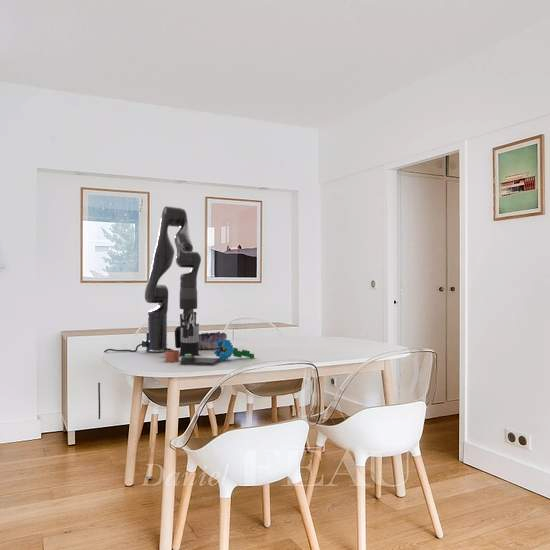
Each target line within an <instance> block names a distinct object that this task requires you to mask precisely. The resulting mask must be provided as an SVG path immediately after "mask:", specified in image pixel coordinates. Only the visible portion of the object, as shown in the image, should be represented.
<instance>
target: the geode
mask: <svg viewBox="0 0 550 550" xmlns="http://www.w3.org/2000/svg"><path fill="white" fill-rule="evenodd" d="M227 336H228V335H227V334H226V332H220V331H217V332H203V333H199V350H212V349H213V350H218V349H219V348H220V346H217V344H216V342H219V341H220V340H221V341H223V339H225V340H227V338H228V337H227Z"/></svg>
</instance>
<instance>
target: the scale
mask: <svg viewBox="0 0 550 550" xmlns="http://www.w3.org/2000/svg"><path fill="white" fill-rule="evenodd" d="M180 358H181V359H180V365H181V366H205V367H206V366H209V367H213V366H214V365H216V364H218V363H220V362H221V360H220V358H219V357H196V356H191V358H185V356H183V355H182V356H181V357H180Z"/></svg>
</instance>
